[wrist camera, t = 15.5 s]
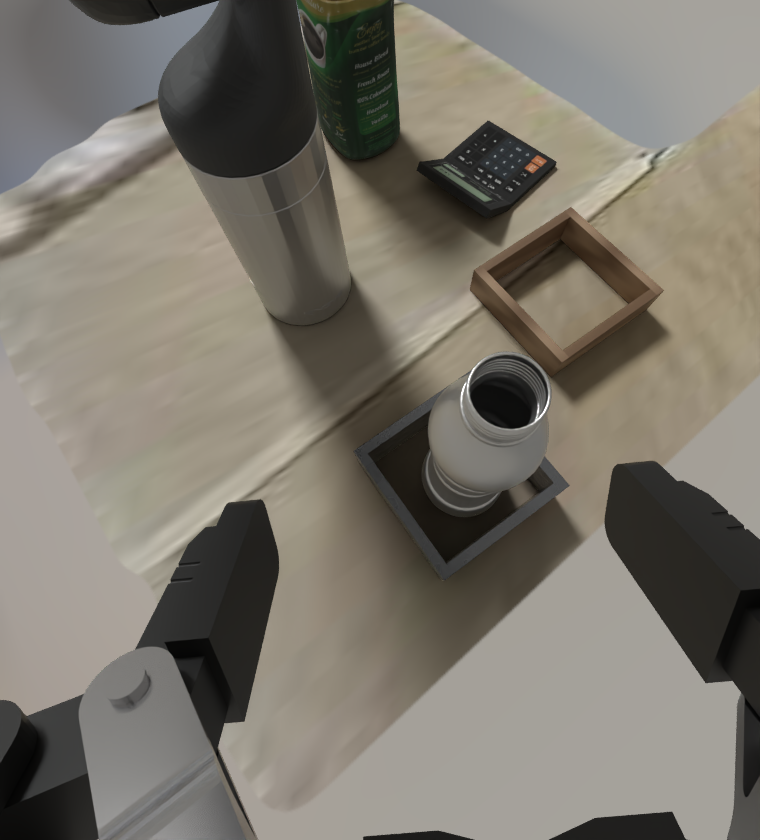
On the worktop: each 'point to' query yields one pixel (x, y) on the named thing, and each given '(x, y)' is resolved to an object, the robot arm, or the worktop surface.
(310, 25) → the coffee jar
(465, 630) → the worktop surface
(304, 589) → the worktop surface
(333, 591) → the worktop surface
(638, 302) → the wooden square tray
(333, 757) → the worktop surface
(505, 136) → the calculator
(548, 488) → the gray square tray
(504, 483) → the silver metal bottle
